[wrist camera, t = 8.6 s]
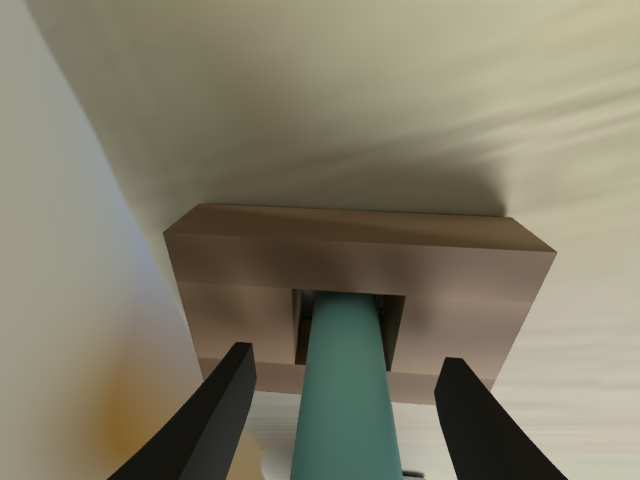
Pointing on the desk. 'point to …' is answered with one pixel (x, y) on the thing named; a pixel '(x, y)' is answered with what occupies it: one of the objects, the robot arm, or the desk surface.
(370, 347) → the peg
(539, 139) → the desk surface
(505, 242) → the hole block
